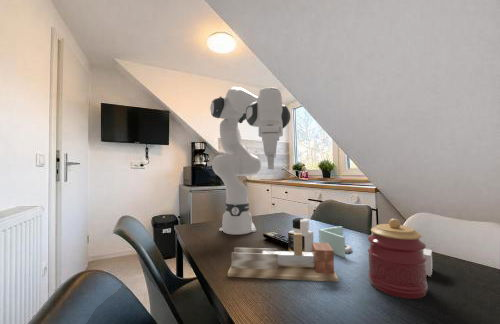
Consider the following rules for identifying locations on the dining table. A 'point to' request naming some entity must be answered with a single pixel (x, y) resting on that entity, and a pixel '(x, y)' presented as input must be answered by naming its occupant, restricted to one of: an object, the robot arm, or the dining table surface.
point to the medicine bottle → (307, 236)
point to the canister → (397, 260)
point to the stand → (266, 266)
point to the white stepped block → (295, 255)
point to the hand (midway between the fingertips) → (271, 169)
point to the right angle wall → (334, 240)
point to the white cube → (428, 261)
